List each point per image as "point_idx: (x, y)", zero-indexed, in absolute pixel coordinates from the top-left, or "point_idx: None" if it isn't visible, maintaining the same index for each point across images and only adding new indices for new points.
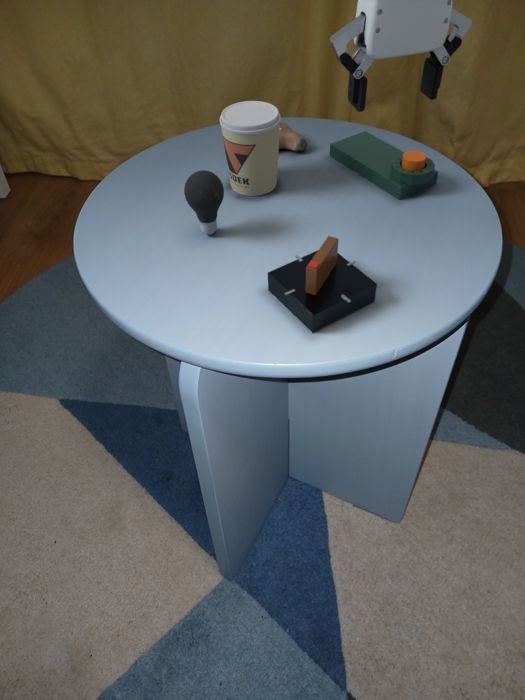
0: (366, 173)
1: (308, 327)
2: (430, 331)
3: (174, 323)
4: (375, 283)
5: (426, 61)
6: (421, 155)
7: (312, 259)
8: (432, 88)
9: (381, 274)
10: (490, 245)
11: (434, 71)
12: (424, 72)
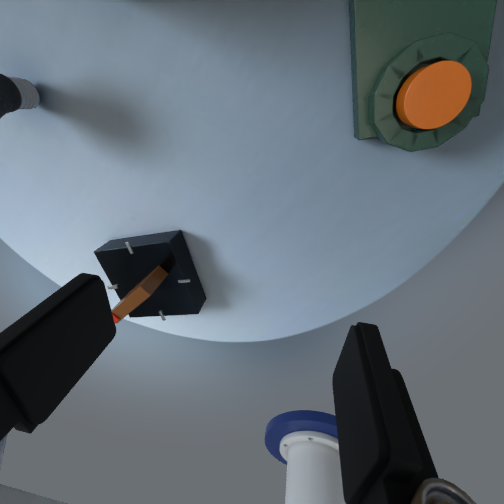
0: (351, 13)
1: None
2: (235, 341)
3: (24, 241)
4: (197, 312)
5: (376, 458)
6: (453, 102)
7: (114, 309)
8: (335, 413)
9: (231, 271)
10: (381, 289)
11: (345, 480)
12: (362, 400)
